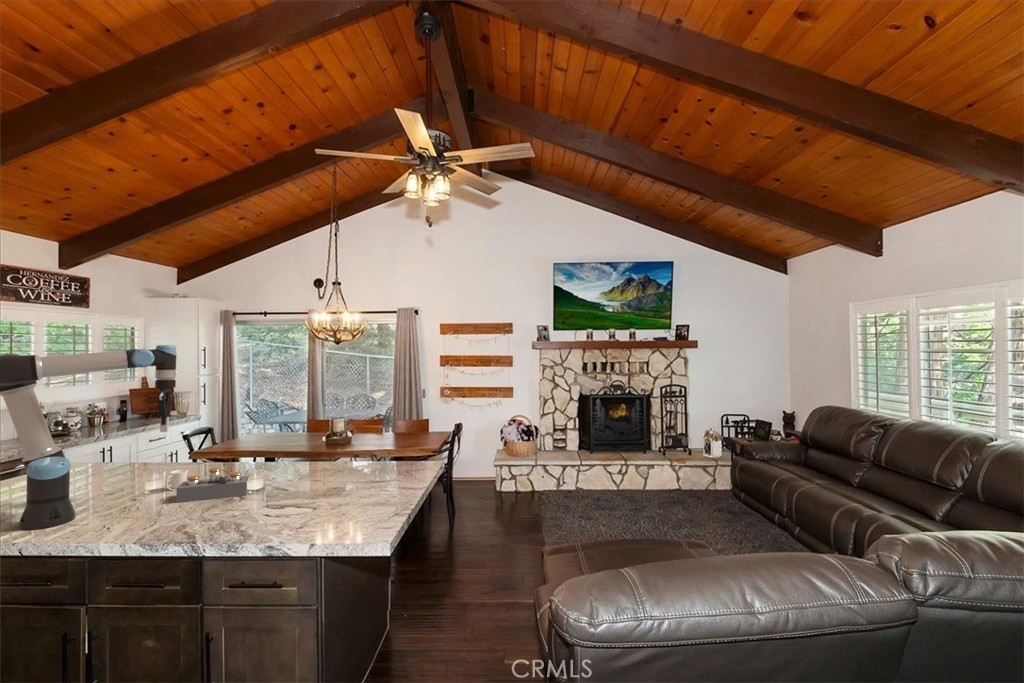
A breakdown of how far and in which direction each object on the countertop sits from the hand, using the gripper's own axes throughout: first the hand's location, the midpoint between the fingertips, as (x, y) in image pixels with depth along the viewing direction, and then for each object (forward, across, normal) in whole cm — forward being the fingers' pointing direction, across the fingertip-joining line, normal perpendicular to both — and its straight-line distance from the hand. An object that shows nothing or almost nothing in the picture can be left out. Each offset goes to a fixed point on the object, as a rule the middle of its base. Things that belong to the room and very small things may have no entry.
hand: (164, 431), depth 216 cm
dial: (+22, -14, -26) cm, 37 cm away
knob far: (+26, -9, -30) cm, 40 cm away
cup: (+28, +7, -3) cm, 29 cm away
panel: (+28, -9, -22) cm, 37 cm away
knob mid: (+23, -9, -22) cm, 33 cm away
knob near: (+26, -10, -14) cm, 31 cm away
